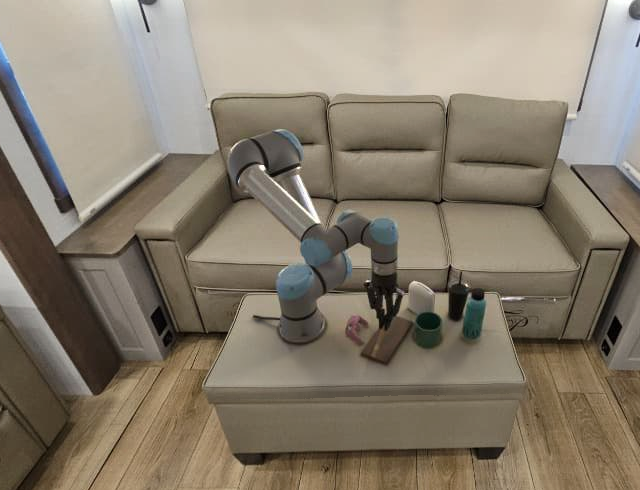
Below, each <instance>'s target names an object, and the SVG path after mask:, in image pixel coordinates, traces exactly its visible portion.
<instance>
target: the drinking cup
mask: <svg viewBox="0 0 640 490" xmlns="http://www.w3.org/2000/svg"><path fill="white" fill-rule="evenodd" d="M462 276H463V271H462V270H460V271H459V277H458V279H456V278H455V279H452V280H451V281H449V282H448V283H447V289H448V303H447V305H448V311H447V312H448V313H447V314H448V316H447V317H448V318H449V319H450V320H452V321H460V320H461V319H462V318H463V315H464V312H465V309H466V304H467V299H468V298H469V294H470V291H471V288H472V287H471V285H470V284H469V282H467V281H466V280H464V279H462Z"/></svg>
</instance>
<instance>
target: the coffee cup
mask: <svg viewBox="0 0 640 490" xmlns="http://www.w3.org/2000/svg"><path fill="white" fill-rule="evenodd" d="M413 325H414V326H413V339H414V341H415V343H416V344H417V345H418V346H420V347H422V348H433V347H436V346H437V345H439V343H441V340H442V332H443V330H442V329H443V319H442V317H441V316H440V315H439V314H438V313H437V312H435V311H434V312H429V311H425V312H421V313H419V314H418V315H417V314H416V316H415V317H414V323H413Z"/></svg>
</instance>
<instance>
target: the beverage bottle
mask: <svg viewBox="0 0 640 490" xmlns="http://www.w3.org/2000/svg"><path fill="white" fill-rule="evenodd" d="M485 294H486V293H485V290H484V289H482V288H480V287H474V288H473V289H472V291H471V294H470V296H468V297H467V301H466V304H465V309H464V317H463V322H462V327H461V334H462V336H463V337H464V339H467V340H469V341H474V340H478V339H479V338H480V336H481V334H482V330H483V326H484V324H483V323H484V319H485V318H484V317H485V315H486V313H485V312H486V307H487V301H486V299H485Z"/></svg>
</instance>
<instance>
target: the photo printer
mask: <svg viewBox="0 0 640 490" xmlns="http://www.w3.org/2000/svg"><path fill="white" fill-rule="evenodd" d="M407 294H408V296H407V297H408V300H407V309H409V310H410V311H412V312H413V313H414V314H416V316H417V315H418V314H419V313H421V312H425V311H429V312H434V313H435V301H436V293H435V292H434V290H432V289H430V288H429V287H428V286H427V285H426V284H424V283H422V282H419V281H416V280H413V281H412V282H410V284H409V286H408V293H407Z"/></svg>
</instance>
